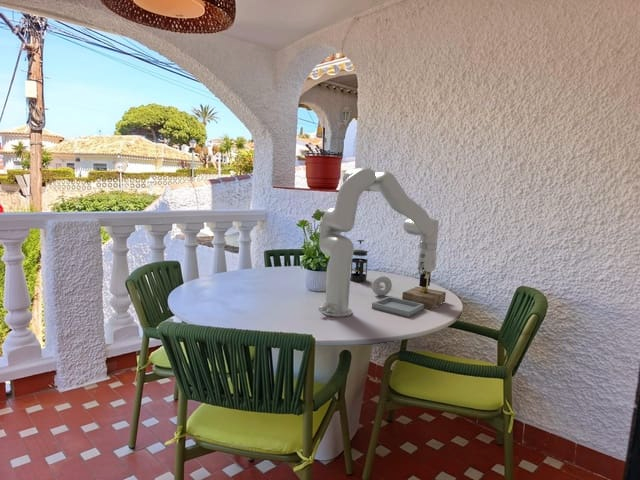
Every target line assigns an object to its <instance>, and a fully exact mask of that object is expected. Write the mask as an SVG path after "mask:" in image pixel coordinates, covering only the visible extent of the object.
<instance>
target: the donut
mask: <svg viewBox="0 0 640 480" xmlns="http://www.w3.org/2000/svg"><path fill="white" fill-rule="evenodd" d="M381 283H383V284H384V287H382V288H380V287H379V285H380V284H381ZM392 287H393V284H392V281H391V279H390V278H389V276H386V275H379V276H376V277H375V278H374V279H373V281H372V282H371V290H372V292H373V293H374V294H375V295H376V296H379V297H382V296H383V297H384V296H386V295H388V294H389V293H390V292H391V291H392Z"/></svg>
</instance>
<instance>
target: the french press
mask: <svg viewBox="0 0 640 480" xmlns="http://www.w3.org/2000/svg"><path fill="white" fill-rule="evenodd" d="M356 241H357V242H359V249H354V253H353V256H356V257H357V256H358V257H357V258H356V257H355V258H354V257H352V261H351V270H350V282H353V283H366V282H367V281H368V280H367V276H368V275H367V274H368V273H367V272H368V259H366V258H361V257H367V256H368V253H369V251H368V250H366V249H365V250H364V249H361V247H362V242H365V240H363V239H357V240H356ZM353 263H355V267H353ZM364 264H365V265H364ZM364 266H365V268H364ZM353 272H354V273H353Z"/></svg>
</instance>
